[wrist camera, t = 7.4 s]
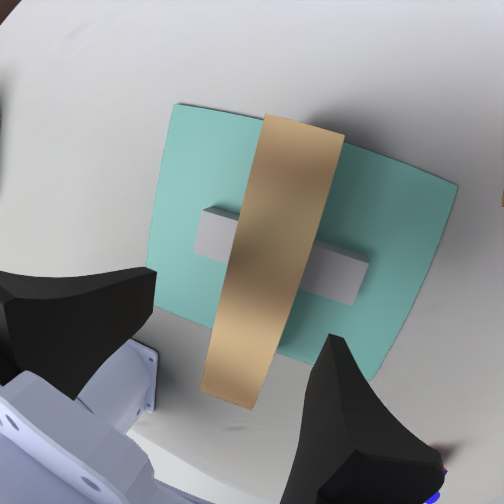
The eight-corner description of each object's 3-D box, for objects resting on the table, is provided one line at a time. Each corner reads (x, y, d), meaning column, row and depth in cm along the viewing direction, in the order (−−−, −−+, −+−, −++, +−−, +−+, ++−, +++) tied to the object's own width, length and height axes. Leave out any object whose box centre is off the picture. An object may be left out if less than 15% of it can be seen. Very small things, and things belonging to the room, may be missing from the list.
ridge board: (370, 378, 23) (371, 394, 21) (144, 298, 26) (132, 308, 24) (455, 185, 17) (466, 188, 15) (176, 104, 20) (162, 101, 19)
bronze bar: (269, 364, 22) (252, 410, 18) (225, 348, 23) (199, 390, 18) (342, 141, 17) (345, 135, 12) (283, 125, 17) (265, 113, 13)
